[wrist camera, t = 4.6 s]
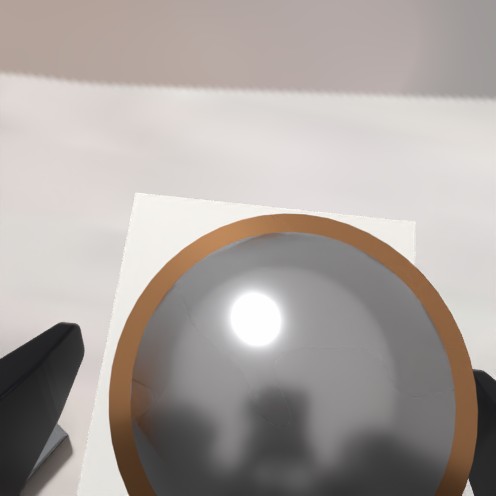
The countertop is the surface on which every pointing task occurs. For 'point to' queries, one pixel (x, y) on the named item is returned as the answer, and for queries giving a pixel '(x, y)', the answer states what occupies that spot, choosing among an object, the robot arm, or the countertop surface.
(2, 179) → the countertop surface
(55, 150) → the countertop surface
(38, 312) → the countertop surface
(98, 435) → the key housing
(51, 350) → the robot arm
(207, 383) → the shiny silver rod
